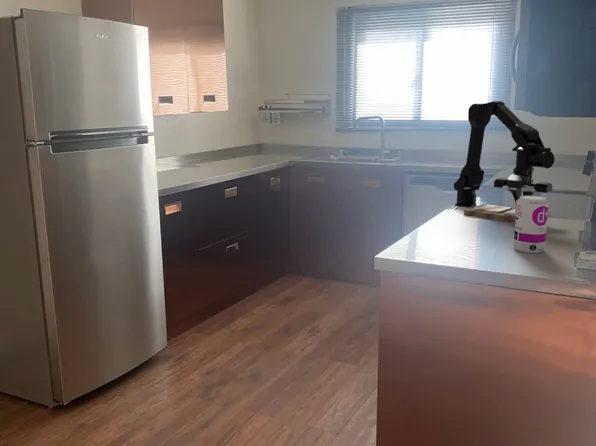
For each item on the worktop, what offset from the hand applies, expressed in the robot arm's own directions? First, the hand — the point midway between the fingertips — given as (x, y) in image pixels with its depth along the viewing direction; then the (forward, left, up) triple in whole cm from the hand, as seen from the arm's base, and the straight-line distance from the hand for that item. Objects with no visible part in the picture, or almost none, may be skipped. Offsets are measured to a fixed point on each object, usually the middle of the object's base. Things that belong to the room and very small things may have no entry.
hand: (520, 209), depth 208 cm
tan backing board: (-6, 0, -3) cm, 7 cm away
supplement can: (+20, -41, -4) cm, 46 cm away
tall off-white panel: (0, 0, -1) cm, 1 cm away
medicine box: (-3, +19, -4) cm, 20 cm away
